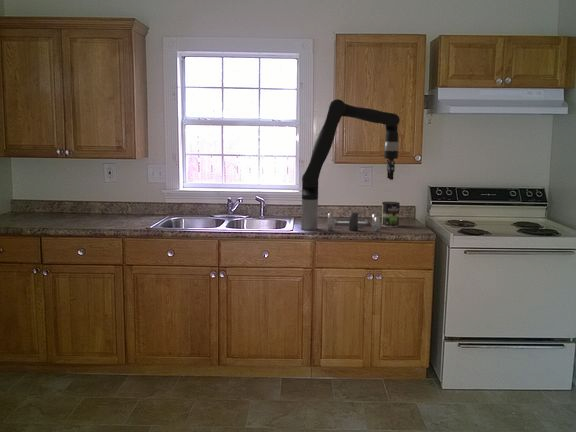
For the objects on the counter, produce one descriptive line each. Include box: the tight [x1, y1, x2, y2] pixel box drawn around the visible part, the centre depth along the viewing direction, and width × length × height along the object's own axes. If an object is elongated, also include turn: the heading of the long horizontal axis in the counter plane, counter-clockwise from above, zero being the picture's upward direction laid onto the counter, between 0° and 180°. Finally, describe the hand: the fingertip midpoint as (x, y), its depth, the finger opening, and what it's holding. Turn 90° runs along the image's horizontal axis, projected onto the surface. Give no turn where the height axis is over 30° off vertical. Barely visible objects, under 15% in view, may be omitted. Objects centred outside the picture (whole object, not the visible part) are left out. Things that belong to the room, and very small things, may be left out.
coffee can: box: [381, 201, 400, 228], centre depth 327 cm, size 10×10×14 cm
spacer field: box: [327, 212, 381, 233], centre depth 315 cm, size 29×18×8 cm, turn 87°
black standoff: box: [348, 211, 359, 232], centre depth 310 cm, size 5×5×10 cm
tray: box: [333, 218, 370, 227], centre depth 335 cm, size 20×18×2 cm
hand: (390, 179), depth 308 cm, fingers open, 8 cm apart
